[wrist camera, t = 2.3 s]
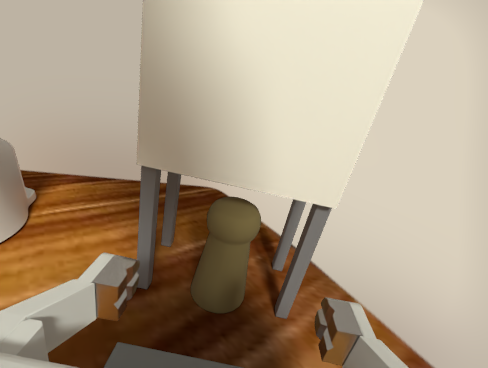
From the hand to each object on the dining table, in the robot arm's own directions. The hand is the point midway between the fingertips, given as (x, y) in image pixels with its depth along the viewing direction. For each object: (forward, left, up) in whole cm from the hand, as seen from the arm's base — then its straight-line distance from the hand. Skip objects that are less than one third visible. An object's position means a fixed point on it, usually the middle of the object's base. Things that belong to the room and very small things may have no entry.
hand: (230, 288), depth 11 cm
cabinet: (-4, +14, -13) cm, 20 cm away
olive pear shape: (-3, +12, -14) cm, 19 cm away
